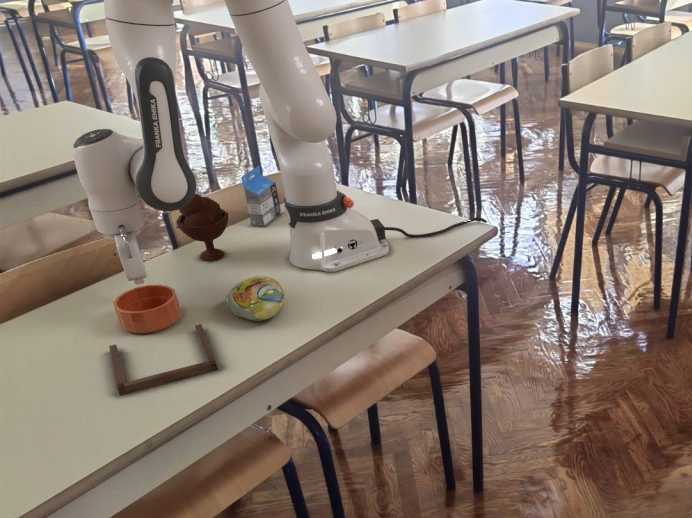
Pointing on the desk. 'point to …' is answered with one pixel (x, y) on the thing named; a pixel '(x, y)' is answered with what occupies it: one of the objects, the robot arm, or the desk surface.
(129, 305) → the bowl
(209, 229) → the ice cream bowl
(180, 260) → the desk surface
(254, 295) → the cell model
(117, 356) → the frame
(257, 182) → the blue and grey box
